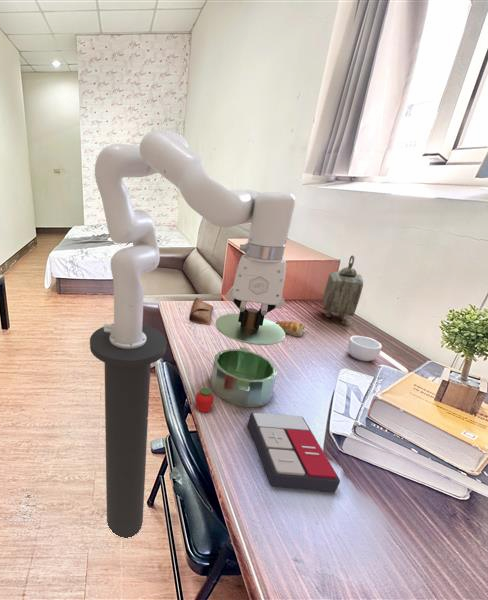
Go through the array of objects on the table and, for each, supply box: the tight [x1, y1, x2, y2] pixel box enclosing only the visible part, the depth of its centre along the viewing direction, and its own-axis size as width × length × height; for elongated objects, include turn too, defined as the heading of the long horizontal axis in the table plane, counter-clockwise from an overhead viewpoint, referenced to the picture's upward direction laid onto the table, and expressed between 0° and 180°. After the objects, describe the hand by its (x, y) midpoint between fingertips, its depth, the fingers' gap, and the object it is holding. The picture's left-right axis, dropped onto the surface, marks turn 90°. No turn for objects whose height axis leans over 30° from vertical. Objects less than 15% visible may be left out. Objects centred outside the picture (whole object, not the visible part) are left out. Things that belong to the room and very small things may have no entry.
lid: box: [214, 307, 286, 346], centre depth 74 cm, size 16×16×6 cm
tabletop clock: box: [322, 255, 364, 326], centre depth 116 cm, size 14×9×25 cm, turn 150°
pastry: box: [275, 320, 306, 337], centre depth 111 cm, size 9×7×4 cm
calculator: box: [247, 412, 341, 493], centre depth 61 cm, size 11×4×15 cm
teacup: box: [347, 335, 383, 362], centre depth 95 cm, size 10×8×5 cm
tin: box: [210, 346, 278, 408], centre depth 80 cm, size 15×20×8 cm
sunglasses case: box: [188, 297, 214, 325], centre depth 124 cm, size 18×7×7 cm
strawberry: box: [195, 387, 215, 413], centre depth 74 cm, size 4×4×5 cm
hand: (249, 325), depth 75 cm, fingers closed on lid, 2 cm apart
